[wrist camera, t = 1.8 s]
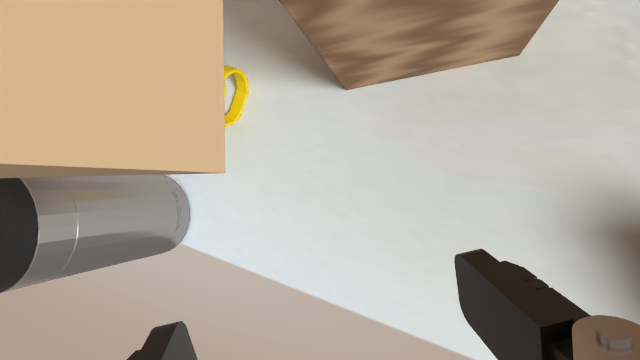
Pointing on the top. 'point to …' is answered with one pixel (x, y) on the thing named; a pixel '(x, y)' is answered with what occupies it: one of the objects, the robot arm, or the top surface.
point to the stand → (414, 34)
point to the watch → (236, 94)
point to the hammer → (111, 87)
